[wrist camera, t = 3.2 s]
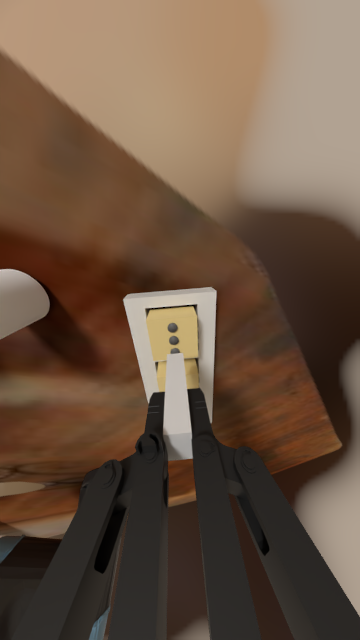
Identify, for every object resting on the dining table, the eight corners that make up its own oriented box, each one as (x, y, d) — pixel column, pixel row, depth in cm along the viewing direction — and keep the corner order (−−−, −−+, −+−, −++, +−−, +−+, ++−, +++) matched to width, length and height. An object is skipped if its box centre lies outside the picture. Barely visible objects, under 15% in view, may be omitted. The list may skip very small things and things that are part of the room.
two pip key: (196, 383, 27) (200, 402, 23) (162, 387, 26) (161, 406, 23) (196, 357, 24) (200, 374, 21) (158, 361, 24) (156, 378, 21)
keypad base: (209, 411, 33) (211, 423, 31) (155, 416, 33) (154, 428, 30) (211, 287, 21) (216, 291, 19) (128, 294, 21) (123, 299, 19)
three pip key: (195, 342, 23) (199, 357, 19) (155, 345, 23) (153, 362, 19) (194, 306, 20) (199, 316, 17) (149, 309, 20) (145, 321, 17)
